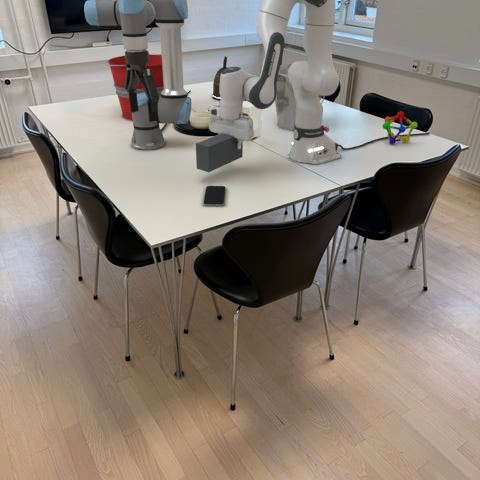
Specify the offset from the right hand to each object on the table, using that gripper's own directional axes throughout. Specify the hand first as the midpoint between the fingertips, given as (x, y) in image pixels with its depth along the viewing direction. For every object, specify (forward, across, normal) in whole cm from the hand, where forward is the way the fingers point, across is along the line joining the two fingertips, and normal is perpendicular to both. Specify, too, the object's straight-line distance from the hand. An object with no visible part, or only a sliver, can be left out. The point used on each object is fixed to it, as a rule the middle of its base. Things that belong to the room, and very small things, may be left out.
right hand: (230, 146), depth 178 cm
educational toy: (+9, -42, -73) cm, 85 cm away
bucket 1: (+10, +86, -31) cm, 92 cm away
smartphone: (+10, -11, +24) cm, 28 cm away
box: (+5, 0, +7) cm, 8 cm away
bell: (+9, +75, -89) cm, 117 cm away
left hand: (-17, +12, +33) cm, 39 cm away
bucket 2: (+9, +10, -67) cm, 69 cm away
